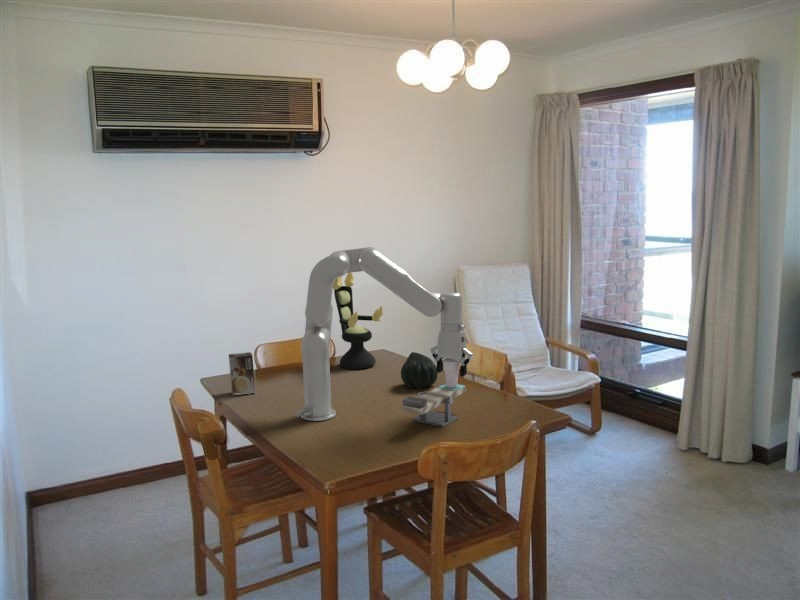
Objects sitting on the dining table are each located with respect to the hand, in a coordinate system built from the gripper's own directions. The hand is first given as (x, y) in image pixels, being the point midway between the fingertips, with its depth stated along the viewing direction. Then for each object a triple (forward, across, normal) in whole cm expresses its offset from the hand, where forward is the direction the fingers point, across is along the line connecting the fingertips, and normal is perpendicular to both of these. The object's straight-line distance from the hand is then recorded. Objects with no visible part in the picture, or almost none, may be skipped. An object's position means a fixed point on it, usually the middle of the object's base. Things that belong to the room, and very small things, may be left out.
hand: (451, 373), depth 240 cm
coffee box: (+14, +83, +26) cm, 88 cm away
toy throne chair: (+14, +73, -32) cm, 81 cm away
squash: (+14, +28, -20) cm, 37 cm away
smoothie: (+5, 0, 0) cm, 5 cm away
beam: (+6, 0, +11) cm, 13 cm away
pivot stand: (+14, 0, +11) cm, 18 cm away
